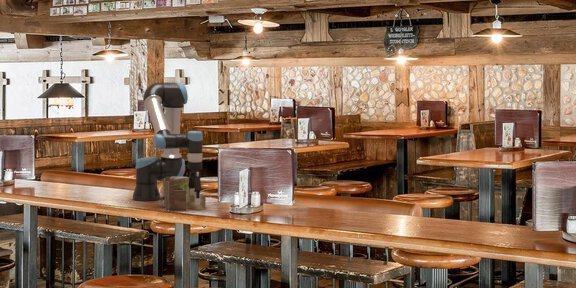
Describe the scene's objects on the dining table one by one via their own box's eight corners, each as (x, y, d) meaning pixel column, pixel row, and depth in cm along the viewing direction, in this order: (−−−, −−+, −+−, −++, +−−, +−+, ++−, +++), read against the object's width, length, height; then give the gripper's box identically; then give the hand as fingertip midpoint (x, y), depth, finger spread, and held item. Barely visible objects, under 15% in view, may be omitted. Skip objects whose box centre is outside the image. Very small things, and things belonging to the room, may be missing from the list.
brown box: (164, 207, 455) (164, 176, 454) (180, 207, 458) (181, 176, 457) (169, 211, 442) (169, 179, 441) (186, 210, 445) (186, 179, 444)
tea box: (180, 207, 458) (180, 178, 457) (161, 206, 460) (161, 178, 459) (189, 204, 473) (189, 176, 472) (171, 203, 475) (171, 175, 474)
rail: (174, 210, 447) (174, 196, 447) (172, 208, 452) (172, 195, 452) (205, 209, 452) (205, 195, 452) (203, 207, 457) (203, 194, 457)
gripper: (182, 159, 462) (182, 199, 464) (192, 163, 439) (192, 206, 440) (197, 159, 465) (196, 199, 466) (207, 163, 441) (207, 206, 443)
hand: (194, 202), depth 453 cm, fingers open, 13 cm apart
